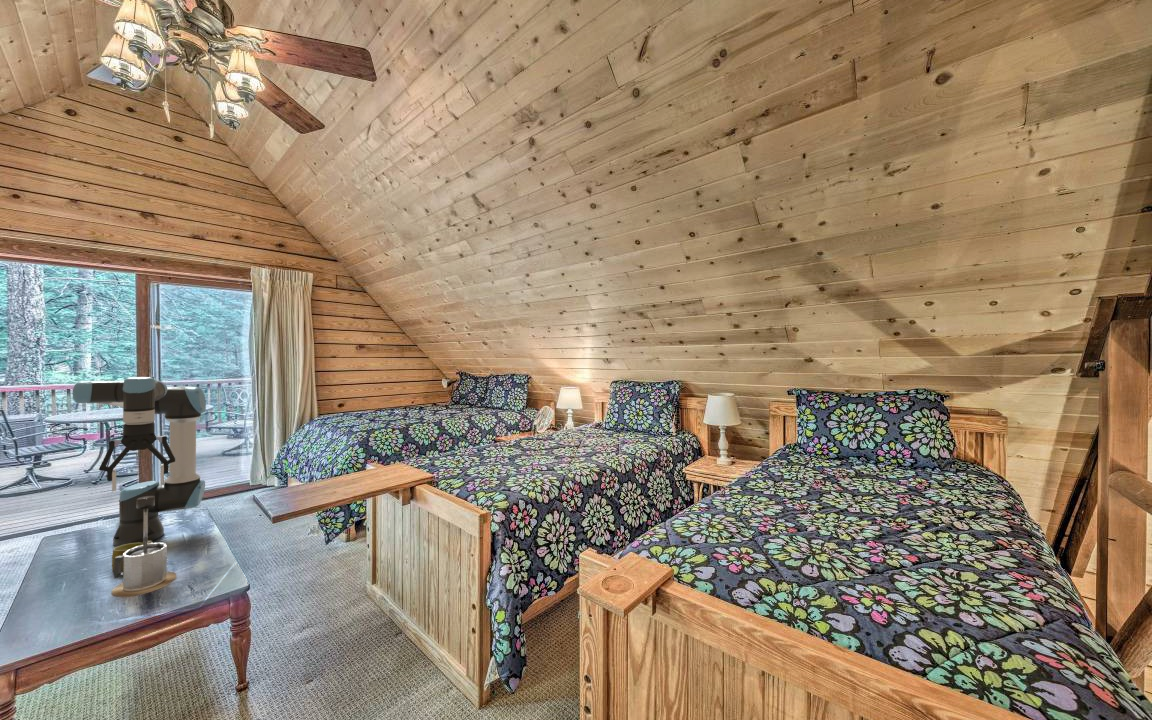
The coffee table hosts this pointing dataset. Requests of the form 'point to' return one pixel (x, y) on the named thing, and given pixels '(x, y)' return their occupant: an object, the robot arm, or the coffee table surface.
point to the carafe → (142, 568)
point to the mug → (121, 549)
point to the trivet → (120, 593)
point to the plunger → (145, 524)
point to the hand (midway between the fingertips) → (138, 486)
